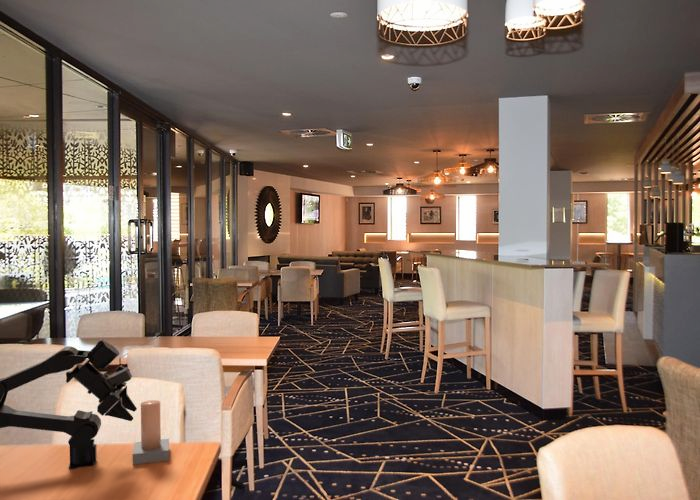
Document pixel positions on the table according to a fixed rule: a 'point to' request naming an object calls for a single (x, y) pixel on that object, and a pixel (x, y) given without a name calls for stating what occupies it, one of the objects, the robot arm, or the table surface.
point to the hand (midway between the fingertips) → (134, 414)
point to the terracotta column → (150, 425)
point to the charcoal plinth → (151, 453)
